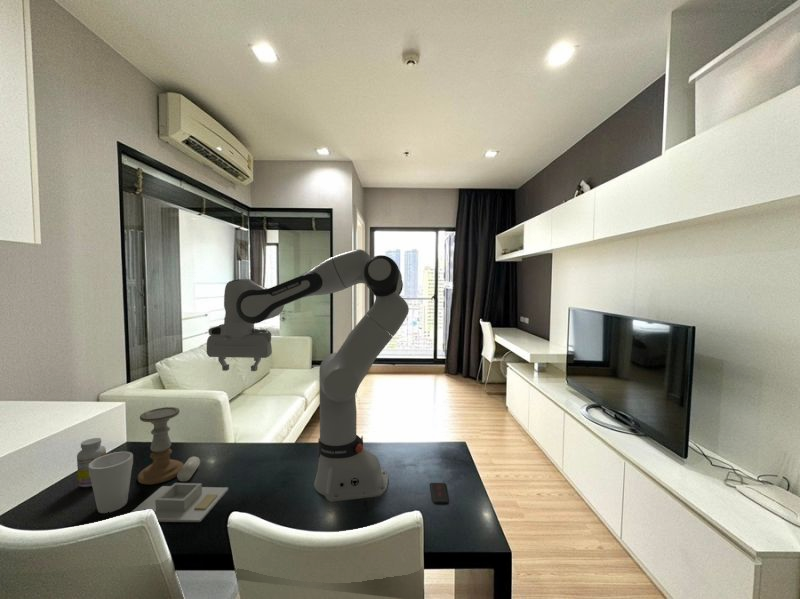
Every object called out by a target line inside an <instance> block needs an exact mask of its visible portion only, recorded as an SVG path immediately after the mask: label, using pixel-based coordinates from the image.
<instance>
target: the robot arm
mask: <svg viewBox="0 0 800 599" xmlns="http://www.w3.org/2000/svg"><path fill="white" fill-rule="evenodd" d="M358 284H365V285H366V287H367V288H368V289H369V290H370V292H371V293H372V294H373V295H374V297H375V300H374V302H373V304H372V306H371V307H370V308H369V310H368V311H367V312H366V313H365V314H364V315H363V317H362V318H361V319H360V320H359V321H358V322H357V324H356V325H355V326H354V327H353V329H352V330H351V331H350V332H349V334H348V335H347V337H346V339H345V340H344V342H343V343H342V345H341V346H340V348H339V349H338V351H337V352H333V353H329V354H328V355H327V356H325V357H324V359H323V360H322V361H321V363H320V366H319V372H318V373H319V438H318V442H317V454H318V466H317V470H316V472H317V473H316V476H315V480H314V483H313V484H314V485H313V486H314V487H313V488H314V489H315V491H316V492H317V493H318V494H321V495H322V496H324V497H325V499H326V500H327V501H328V502H329V503H330V502H340V501H349V500H350V501H351V500H357V499H364V498H365V499H368V498H376V497H380V496H382V495H383V494H384V493H385V492H386V490H387V489H388V486H389V475H388V472H387V471H386V469H384V468H381V463H380V460H379V458H378V457H377V456H376V455H375V454H374V453H372V452H371V451H369V450H368V449H366V448H365V447H364V438H363V437H364V436H363V435H361V437H360V436H359V435H358V434H357V416H358V415H357V414H358V413H357V400H356V393H357V391H358V390H359V388H360V386H361V384H362V382H363V380H365V377H366V376H367V375H368V372H369V371H370V369H371V367H372V366H373V364H374V362H375V360H376V359H377V358H378V357H379V355H380V353H382V351H383V350H384V349H385V347H386V346H387V345H388V344H389V342H390V341H391V340H392V339H393V337H395V335H396V334H397V333H398V331H399V330H400V328H401V326H402V325H403V323H404V322H405V320H406V318H407V316H408V314H409V312H410V311H409V310H410V309H409V305H408V303H407V301H406V300H405V299H404V298H403V297H402V296H401V293H402V292H403V291H402V290H403V288H404V281H403V276H402V273H401V271H400V268H399V266H398V264H397V263H396V261H395V260H394V259H392V258H391V257H389V256H387V255H384V254H383V255H376V256H373V257H371V256H370V255H369V253H368V252H367V251H365V250H364V249H359V248H357V249H354V250H353V249H352V250H349V251H345V252H342V253H340V254H336V255H334V256H333V257H329V258H328V259H324V260H323V261H322V262H319V263H318V264H317V265H315V266H313V267H312V268H310V269H309V270H307V271H305V272H304V273H301V274H300V275H298V276H296V277H293V278H292V279H288V280H286V281H284V282H281V283H279V284H277V285H274V286H271V287H269V288H267V287H264V286H261V285H259V284H258V283H256V282H254V281H253V280H252V279H250V278H239V279H238V278H237V279H233V280H230V281H228V282H227V283H226V284H225V287H224V296H223V308H224V313H225V314H224V319H223V321H224V322H223V323H222V324H219V325H217V326H213V327H211V328H208V335H209V336H208V337H207V339H206V355H207V356H208V357H209V358H217V360H218V363H220V366H221V370H222V371H223V372H226V371H229V370H230V364H227V362H226V360H227V358H241V359H242V358H243V359H245V358H247V359H248V358H249V359H252V358H253V361H254V363H253V364H252V365H250V372H257V371H258V368H259V367H258V365H259V364H260V362H261V360H262V359H267V358H269V357H270V356H272V353H273V348H272V333H271V331H270V330H268V329H267V328H255V324H258V323H259V324H260V323H261V322H263V321H266V320H269V319H273V318H275V317H277V316H279V315H280V314H281V313H282V312H283V310H284V307H285V305H288V304H290V303H292V302H295V301H298V300H301V299H303V298H307V297H311V296H323V295H324V296H325V295H331V294H333V293H337V292H340V291H343V290H346V289H349V288H350V287H352V286H355V285H358Z"/></svg>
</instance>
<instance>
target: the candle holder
mask: <svg viewBox="0 0 800 599" xmlns="http://www.w3.org/2000/svg"><path fill="white" fill-rule="evenodd" d="M179 414H180V409H179V408H178V407H175V406H174V407H172V406H168V407H167V406H165V407H157V408H154V409H149V410H147V411H145V412H143V413H141V414H140V416H139V419H140V421H141V422H143V423H151V424H152V425H153V429H152V430H151V431H150V434H151V435H152V441H151V444H150V450H151V451H152V452H151V453H150V455H149V458H151V459H152V463H151V464H149V465H148V466H146V467H145V468H143V469H142V470H141V471H140V472H138V473H139V474H138V475H137V481H138V483H140V484H141V485H158V484H161V483H165V482H168V481H171V480H172V479H174V478H177V474H178V472H179V471H180V470H181V468H182V467H183V466H184V464H185V463H183V462H182V461H180V460H177V459H171V457H170V455H171V454H172V452H173V450H172V449H171V446H172V440H171V438H170V435H169V431H171V428H170V427H169V426H168V422H169V421H170V419H173V418H175V417H176V416H179Z"/></svg>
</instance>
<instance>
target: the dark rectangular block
mask: <svg viewBox="0 0 800 599" xmlns="http://www.w3.org/2000/svg"><path fill="white" fill-rule="evenodd" d="M428 484H429V491H430V499H431V502H432V503H433V504H436V505H437V504H439V505H447V504H448V505H449V503H450V497H449V490H448V485H447V483H445V482H429V483H428Z"/></svg>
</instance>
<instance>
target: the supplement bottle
mask: <svg viewBox="0 0 800 599" xmlns="http://www.w3.org/2000/svg"><path fill="white" fill-rule="evenodd" d="M80 449H81V450H80V451H79V452H78V453H77V455H76V464H77V465H76V467H77V481H78V482H77V484H78V486H79V487H81V488H89V487H92V483H91V478H90V476H89V463H91V462H92V461H93V460H95V459H97V458H99V457H101V456H104V455H107V451H106V450H107V447H105V445H102V438H100V437H93V438H89V439H86V440H83V441H82V442H81V443H80Z"/></svg>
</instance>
